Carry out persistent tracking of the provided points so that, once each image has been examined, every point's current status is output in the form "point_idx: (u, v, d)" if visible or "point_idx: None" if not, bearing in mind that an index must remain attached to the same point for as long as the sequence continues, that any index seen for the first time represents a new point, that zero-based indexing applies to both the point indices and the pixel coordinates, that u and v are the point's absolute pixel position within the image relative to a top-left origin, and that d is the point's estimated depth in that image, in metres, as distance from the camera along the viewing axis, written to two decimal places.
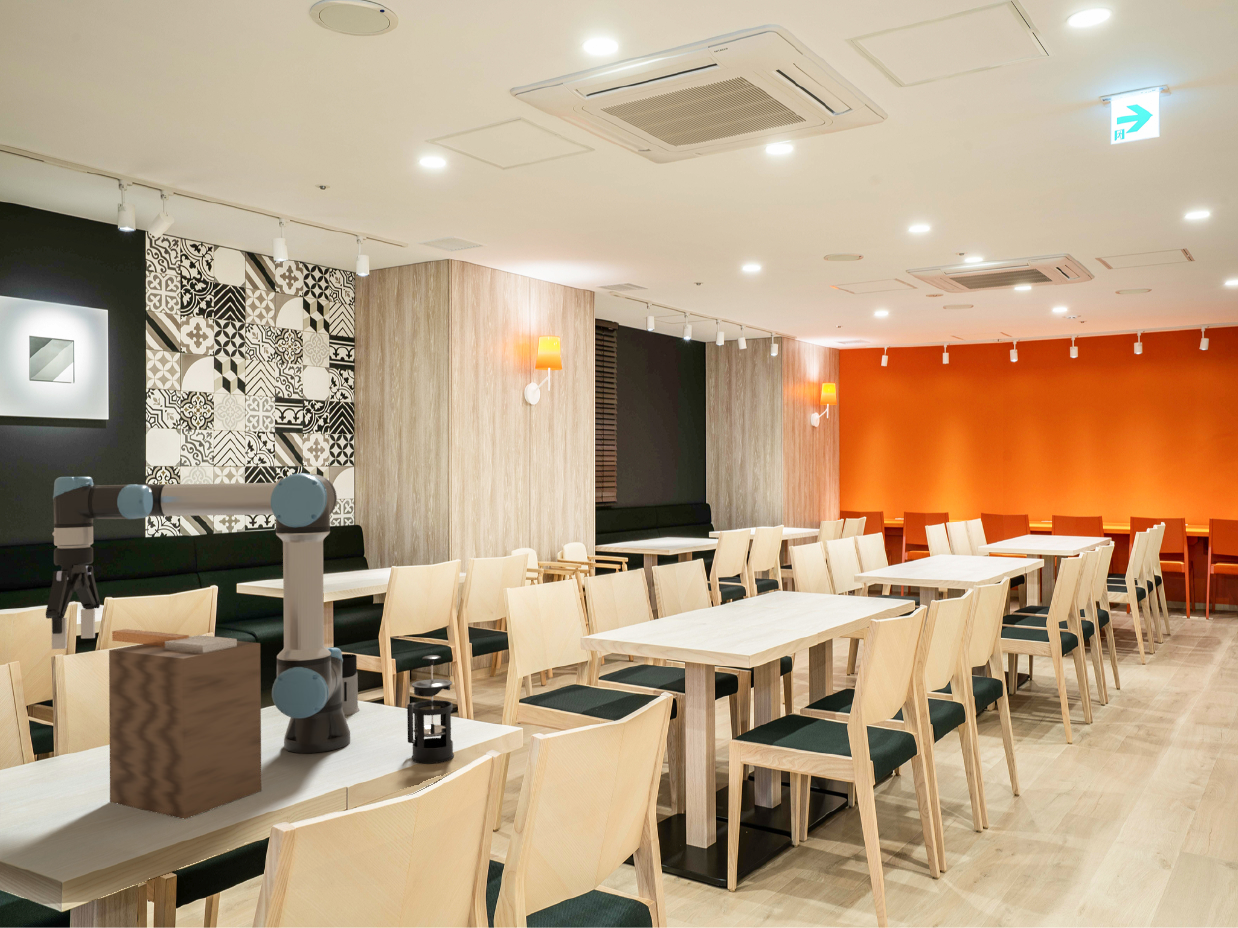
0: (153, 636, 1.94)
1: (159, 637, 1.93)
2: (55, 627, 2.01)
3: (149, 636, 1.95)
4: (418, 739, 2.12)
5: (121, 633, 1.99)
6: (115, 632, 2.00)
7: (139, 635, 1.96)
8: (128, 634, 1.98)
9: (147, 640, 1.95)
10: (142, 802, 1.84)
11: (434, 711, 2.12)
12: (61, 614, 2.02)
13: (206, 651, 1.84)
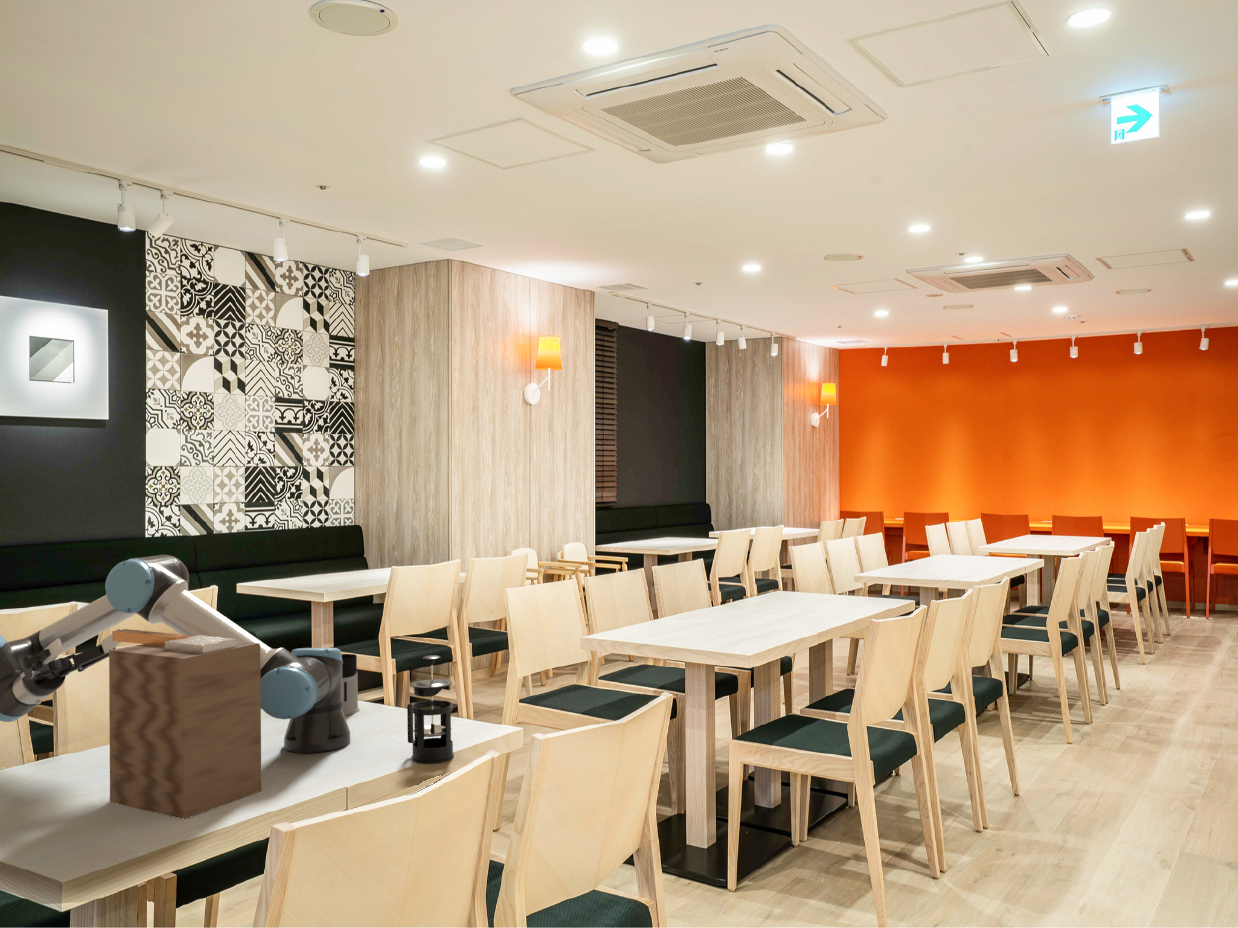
0: (153, 636, 1.94)
1: (159, 637, 1.93)
2: (41, 655, 2.00)
3: (149, 636, 1.95)
4: (418, 739, 2.12)
5: (121, 633, 1.99)
6: (115, 632, 2.00)
7: (139, 635, 1.96)
8: (128, 634, 1.98)
9: (147, 640, 1.95)
10: (142, 802, 1.84)
11: (434, 711, 2.12)
12: None
13: (206, 651, 1.84)
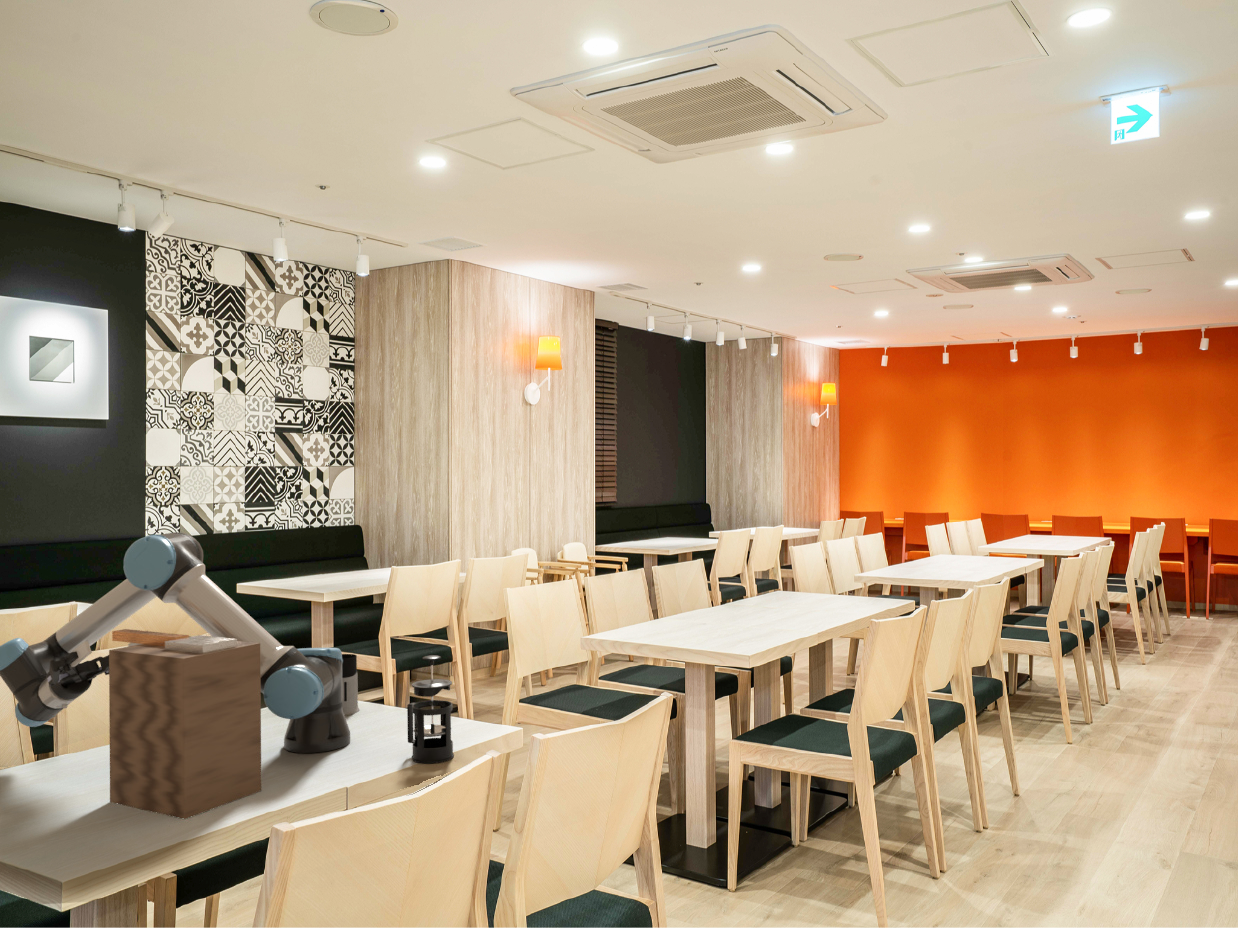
0: (153, 636, 1.94)
1: (159, 637, 1.93)
2: (68, 658, 1.95)
3: (149, 636, 1.95)
4: (418, 739, 2.12)
5: (121, 633, 1.99)
6: (115, 632, 2.00)
7: (139, 635, 1.96)
8: (128, 634, 1.98)
9: (147, 640, 1.95)
10: (142, 802, 1.84)
11: (434, 711, 2.12)
12: (60, 659, 1.97)
13: (206, 651, 1.84)
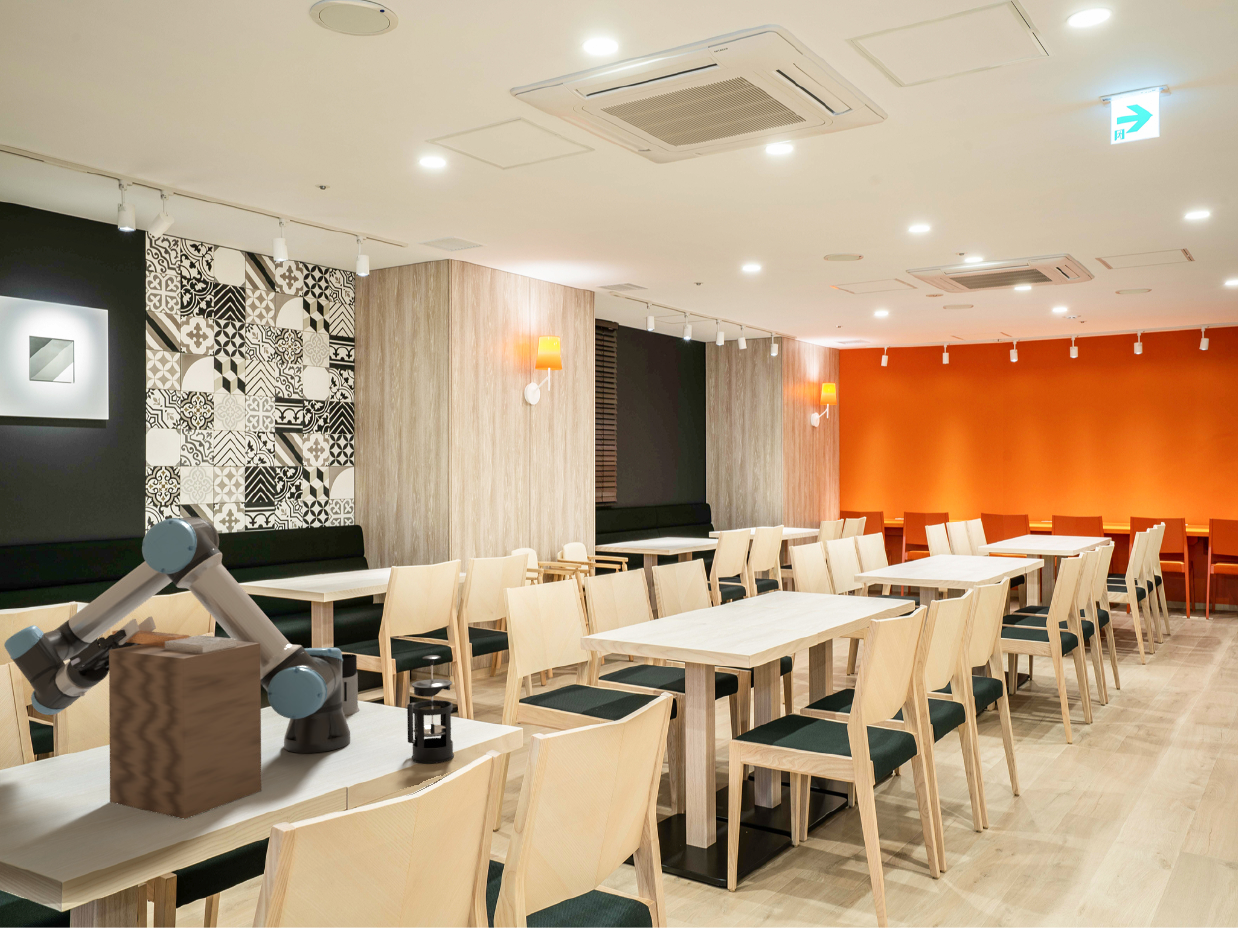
0: (153, 636, 1.94)
1: (159, 637, 1.93)
2: (116, 636, 1.97)
3: (149, 636, 1.95)
4: (418, 739, 2.12)
5: None
6: (115, 632, 2.00)
7: (139, 635, 1.96)
8: None
9: (147, 640, 1.95)
10: (142, 802, 1.84)
11: (434, 711, 2.12)
12: (109, 636, 1.98)
13: (206, 651, 1.84)
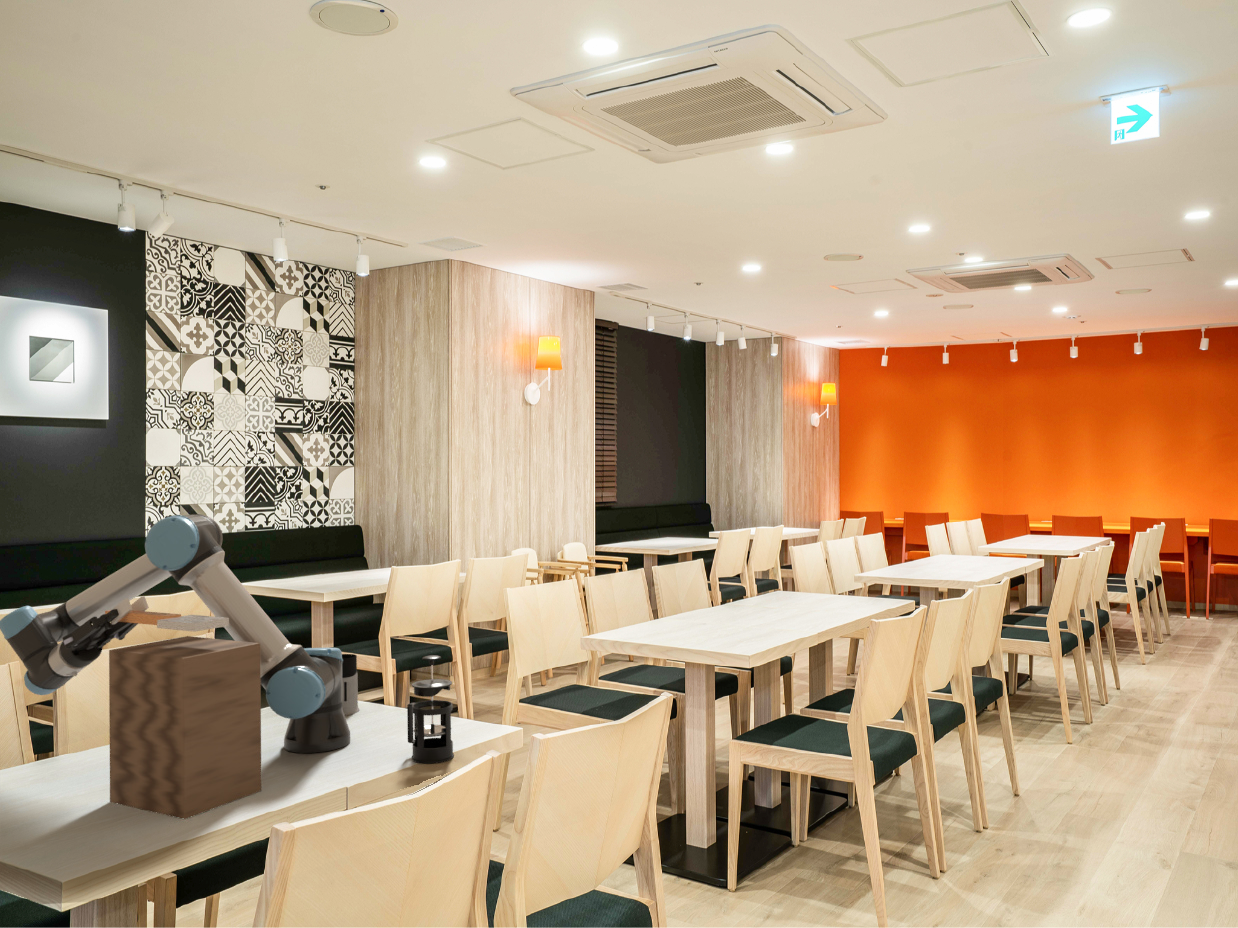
0: (145, 615, 1.95)
1: (151, 616, 1.94)
2: (109, 615, 1.98)
3: (142, 615, 1.96)
4: (418, 739, 2.12)
5: None
6: None
7: (132, 614, 1.97)
8: None
9: (140, 619, 1.96)
10: (142, 802, 1.84)
11: (434, 711, 2.12)
12: (101, 616, 1.99)
13: (198, 629, 1.86)
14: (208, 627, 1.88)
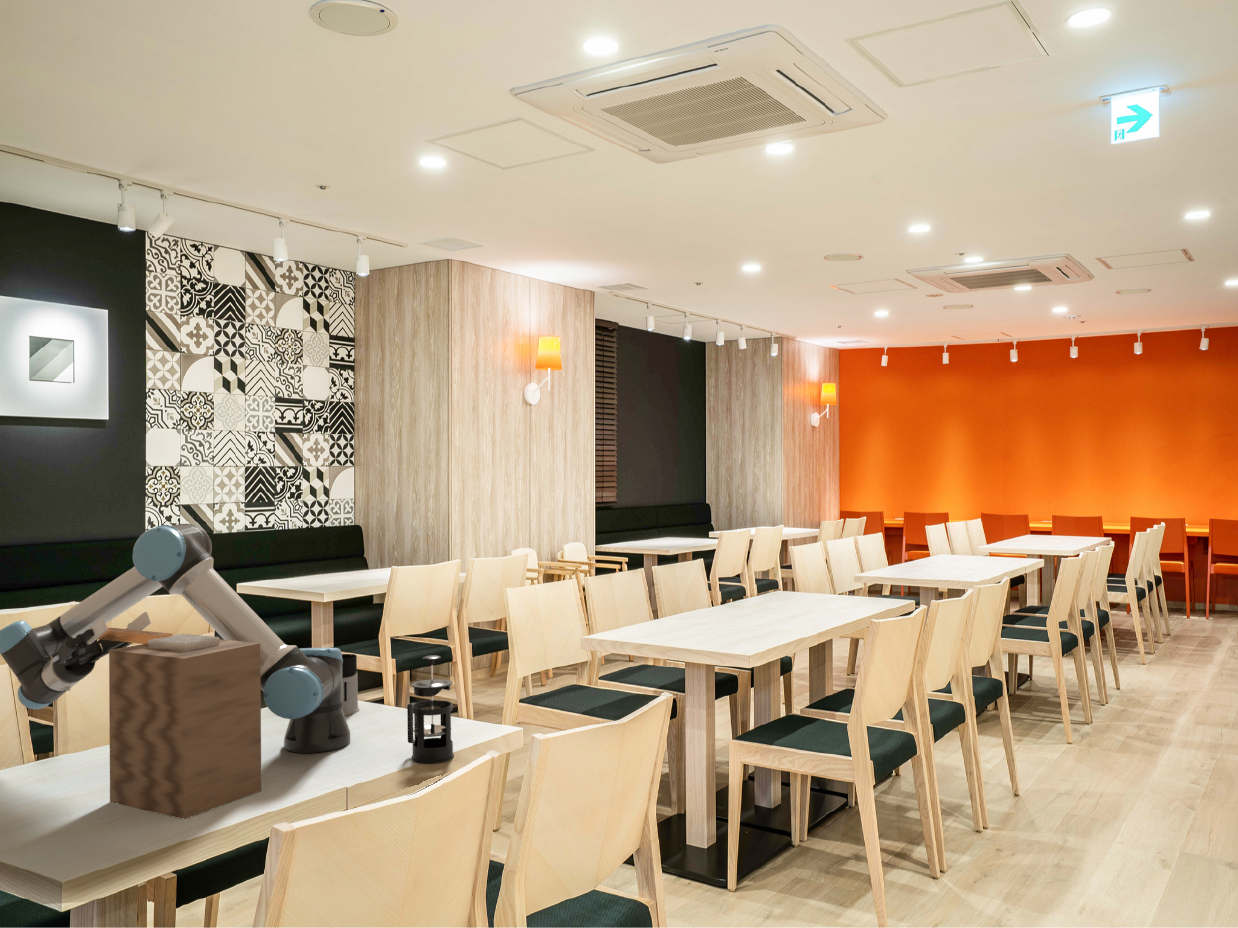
0: (137, 634, 1.96)
1: (143, 635, 1.96)
2: (84, 635, 1.97)
3: (133, 634, 1.97)
4: (418, 739, 2.12)
5: None
6: None
7: (123, 633, 1.99)
8: (113, 632, 2.00)
9: (132, 638, 1.97)
10: (142, 802, 1.84)
11: (434, 711, 2.12)
12: (76, 636, 1.98)
13: (188, 649, 1.87)
14: (199, 647, 1.89)
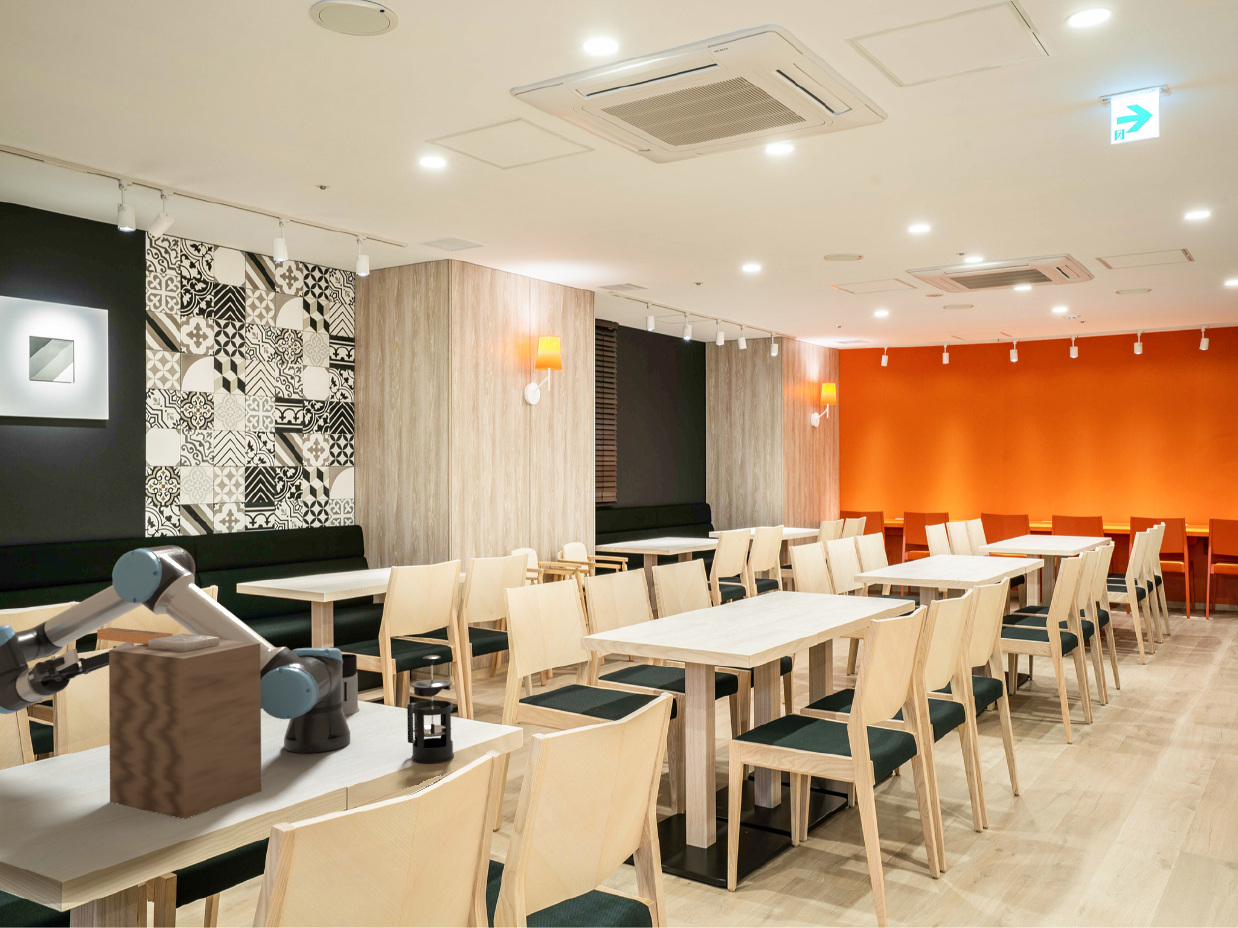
0: (137, 634, 1.96)
1: (143, 635, 1.96)
2: (55, 663, 2.00)
3: (133, 634, 1.97)
4: (418, 739, 2.12)
5: (105, 631, 2.01)
6: (100, 630, 2.02)
7: (123, 633, 1.99)
8: (113, 632, 2.00)
9: (132, 638, 1.97)
10: (142, 802, 1.84)
11: (434, 711, 2.12)
12: None
13: (188, 649, 1.87)
14: (199, 647, 1.89)
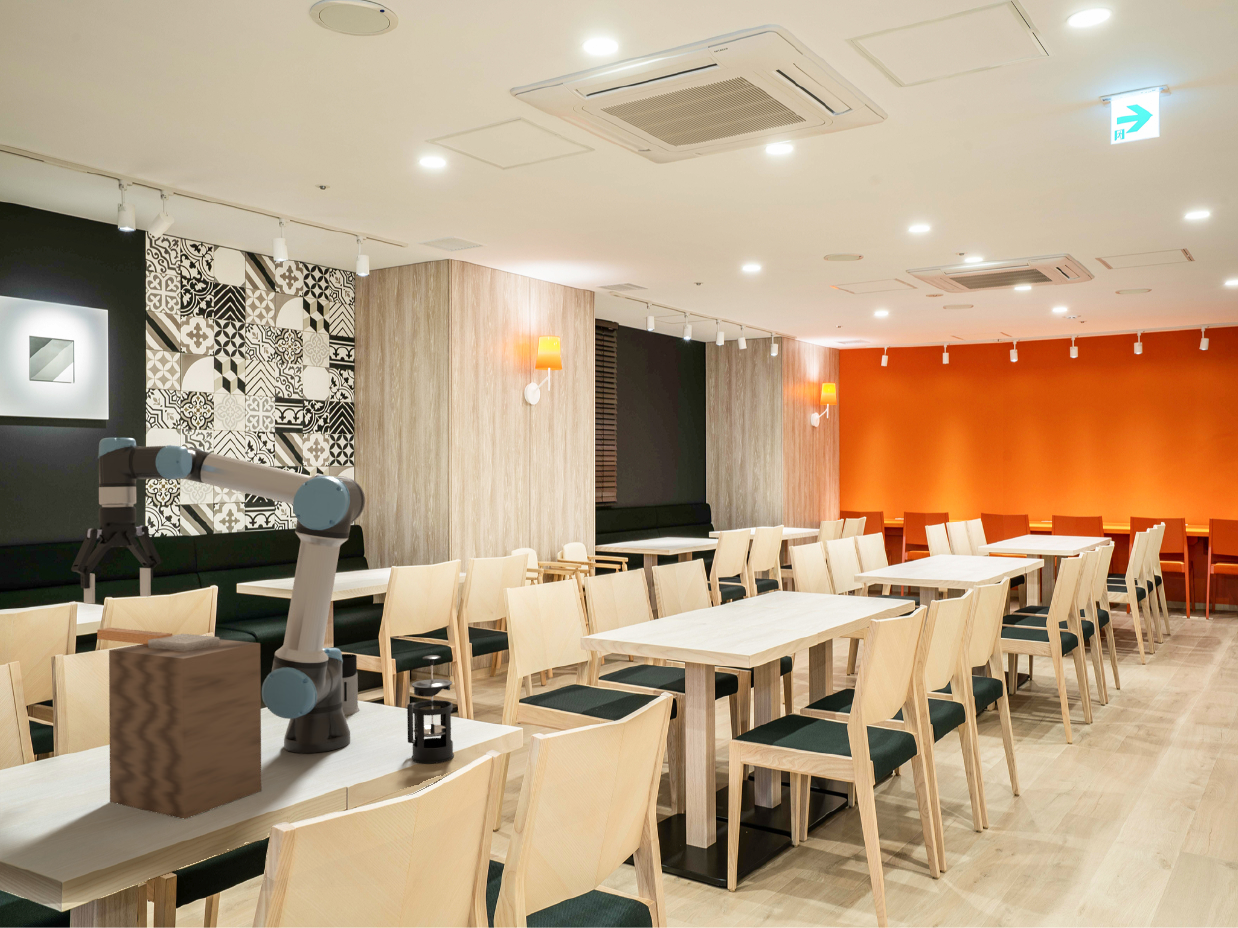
0: (137, 634, 1.96)
1: (143, 635, 1.96)
2: (82, 582, 2.08)
3: (133, 634, 1.97)
4: (418, 739, 2.12)
5: (105, 631, 2.01)
6: (100, 630, 2.02)
7: (123, 633, 1.99)
8: (113, 632, 2.00)
9: (132, 638, 1.97)
10: (142, 802, 1.84)
11: (434, 711, 2.12)
12: (86, 570, 2.08)
13: (188, 649, 1.87)
14: (199, 647, 1.89)
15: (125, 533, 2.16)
